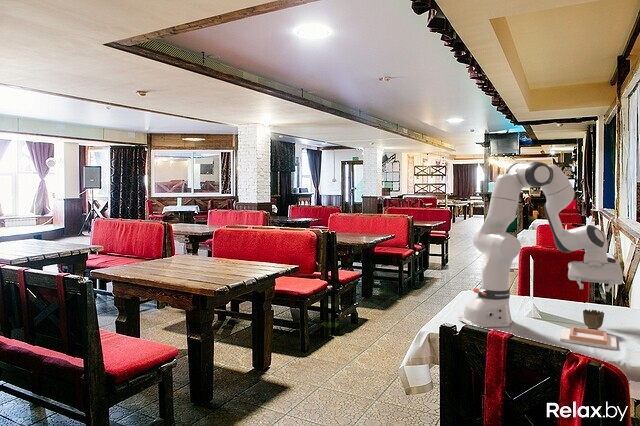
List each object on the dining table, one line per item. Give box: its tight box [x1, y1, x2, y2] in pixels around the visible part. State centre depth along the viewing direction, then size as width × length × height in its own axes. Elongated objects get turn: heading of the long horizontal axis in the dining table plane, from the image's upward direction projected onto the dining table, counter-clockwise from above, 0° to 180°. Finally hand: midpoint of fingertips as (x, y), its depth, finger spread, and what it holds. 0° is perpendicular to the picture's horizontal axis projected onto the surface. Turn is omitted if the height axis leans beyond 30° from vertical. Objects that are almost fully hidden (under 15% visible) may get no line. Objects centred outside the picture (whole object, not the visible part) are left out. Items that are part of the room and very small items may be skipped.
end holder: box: [559, 325, 618, 351], centre depth 174 cm, size 13×18×2 cm
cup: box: [582, 309, 605, 330], centre depth 184 cm, size 8×7×8 cm
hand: (594, 289), depth 193 cm, fingers open, 8 cm apart
